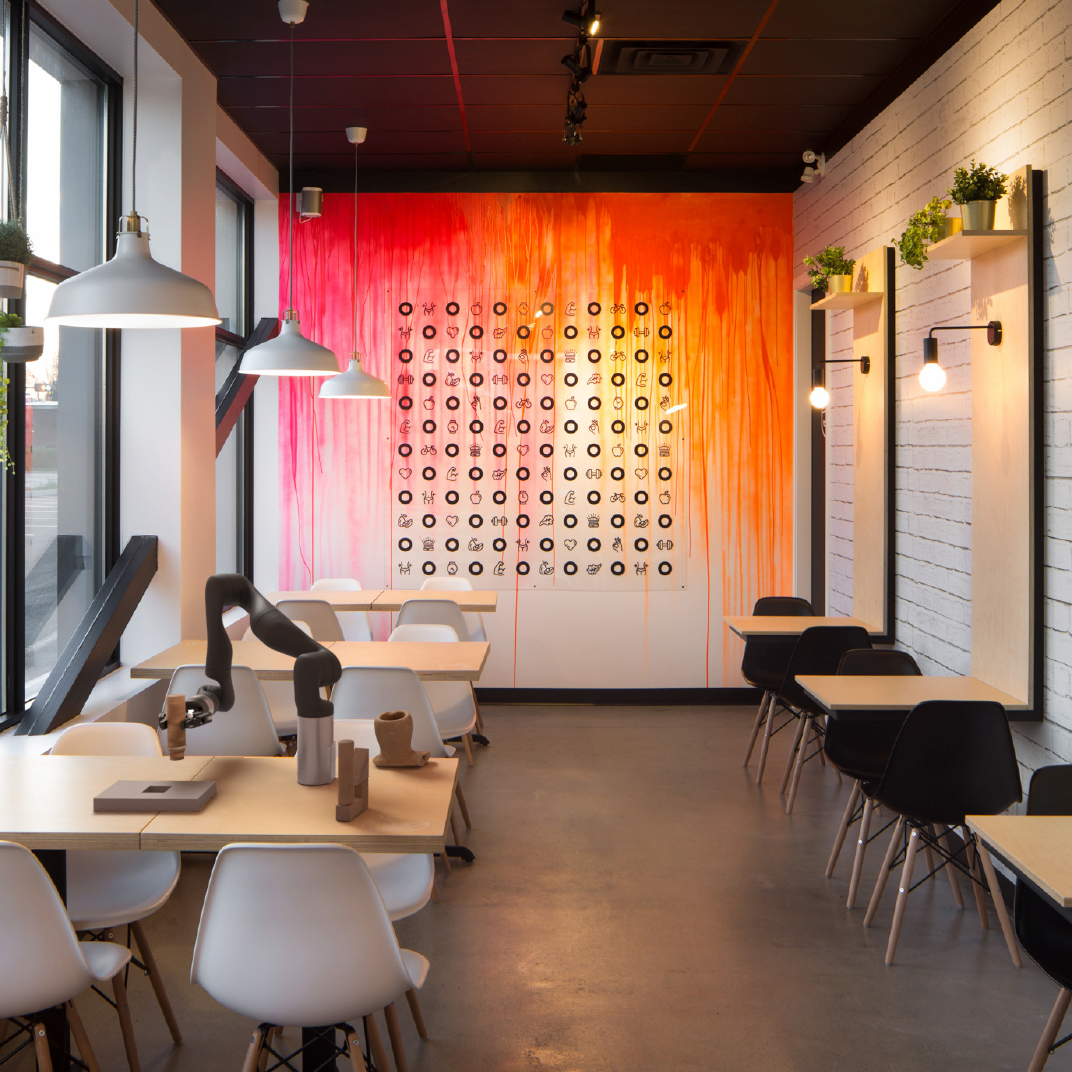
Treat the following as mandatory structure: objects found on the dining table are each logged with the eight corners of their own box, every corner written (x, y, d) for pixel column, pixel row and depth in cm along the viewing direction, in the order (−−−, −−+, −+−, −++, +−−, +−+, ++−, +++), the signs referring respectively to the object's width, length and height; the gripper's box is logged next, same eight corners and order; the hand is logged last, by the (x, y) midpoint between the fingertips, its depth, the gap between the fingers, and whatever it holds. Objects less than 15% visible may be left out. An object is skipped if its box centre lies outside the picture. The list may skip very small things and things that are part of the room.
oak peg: (189, 756, 246) (188, 694, 245) (182, 761, 241) (181, 697, 241) (171, 756, 246) (170, 694, 245) (164, 761, 241) (163, 697, 241)
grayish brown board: (216, 793, 238) (216, 781, 238) (197, 811, 224) (197, 798, 224) (118, 792, 238) (118, 780, 238) (93, 811, 224) (93, 798, 224)
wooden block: (369, 807, 229) (369, 732, 228) (350, 822, 218) (350, 743, 217) (354, 806, 229) (354, 731, 229) (335, 821, 219) (335, 742, 218)
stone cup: (367, 771, 258) (367, 715, 258) (377, 759, 270) (377, 706, 270) (423, 773, 257) (424, 717, 257) (431, 760, 269) (431, 707, 269)
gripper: (168, 697, 257) (143, 711, 240) (222, 696, 258) (201, 710, 240) (168, 725, 258) (143, 741, 240) (222, 724, 258) (201, 740, 241)
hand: (172, 725), depth 241 cm, fingers closed on oak peg, 4 cm apart
